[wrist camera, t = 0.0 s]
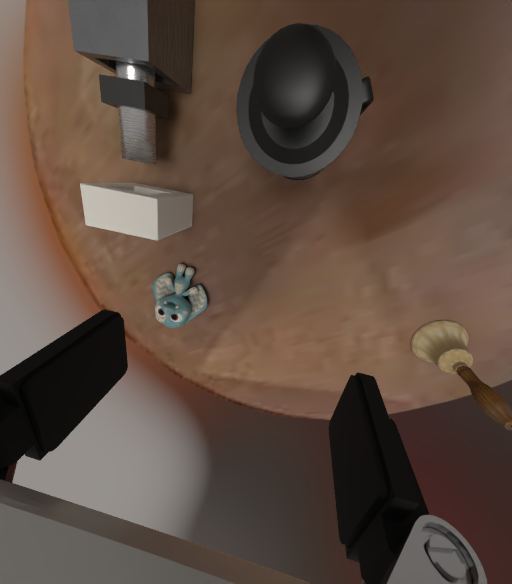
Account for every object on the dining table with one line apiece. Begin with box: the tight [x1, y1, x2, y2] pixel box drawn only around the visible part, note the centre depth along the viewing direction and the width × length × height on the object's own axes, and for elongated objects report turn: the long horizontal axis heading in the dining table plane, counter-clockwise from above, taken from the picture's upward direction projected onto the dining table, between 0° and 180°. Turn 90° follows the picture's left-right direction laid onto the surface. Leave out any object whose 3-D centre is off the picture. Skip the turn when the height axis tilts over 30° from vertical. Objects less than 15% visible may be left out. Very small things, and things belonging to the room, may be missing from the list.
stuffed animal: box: [152, 264, 207, 328], centre depth 43 cm, size 11×7×12 cm
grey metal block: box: [68, 0, 195, 94], centre depth 27 cm, size 9×8×10 cm
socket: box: [80, 183, 194, 241], centre depth 35 cm, size 5×10×10 cm, turn 81°
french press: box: [237, 23, 373, 180], centre depth 22 cm, size 12×9×23 cm
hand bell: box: [411, 320, 512, 430], centre depth 34 cm, size 8×8×16 cm
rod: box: [99, 61, 169, 164], centre depth 27 cm, size 19×5×5 cm, turn 171°
